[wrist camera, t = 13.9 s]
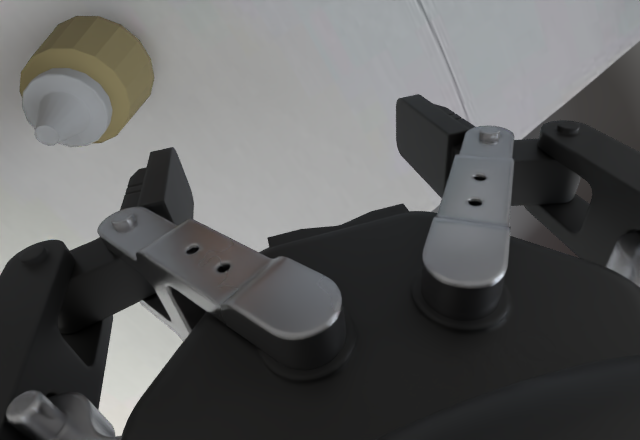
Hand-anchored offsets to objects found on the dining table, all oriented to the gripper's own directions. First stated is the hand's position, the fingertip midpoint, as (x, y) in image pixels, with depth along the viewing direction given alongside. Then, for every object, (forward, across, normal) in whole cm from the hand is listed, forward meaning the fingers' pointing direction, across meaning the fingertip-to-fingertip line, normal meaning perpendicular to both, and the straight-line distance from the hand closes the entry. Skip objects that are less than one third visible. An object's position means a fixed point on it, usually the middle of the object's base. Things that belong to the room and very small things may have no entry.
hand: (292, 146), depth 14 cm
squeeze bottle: (+28, +12, +1) cm, 31 cm away
